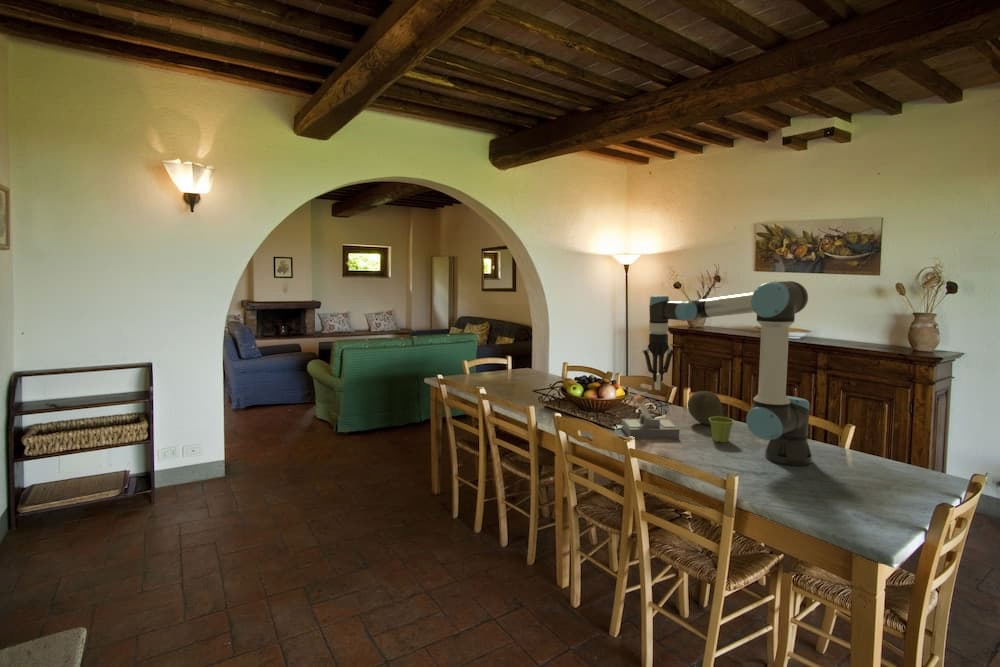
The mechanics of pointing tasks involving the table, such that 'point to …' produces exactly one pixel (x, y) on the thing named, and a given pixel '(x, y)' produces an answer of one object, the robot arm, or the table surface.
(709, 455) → the table surface
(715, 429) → the plant pot
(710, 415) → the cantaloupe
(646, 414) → the toggle lever
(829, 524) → the table surface
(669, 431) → the switch box
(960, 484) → the table surface
